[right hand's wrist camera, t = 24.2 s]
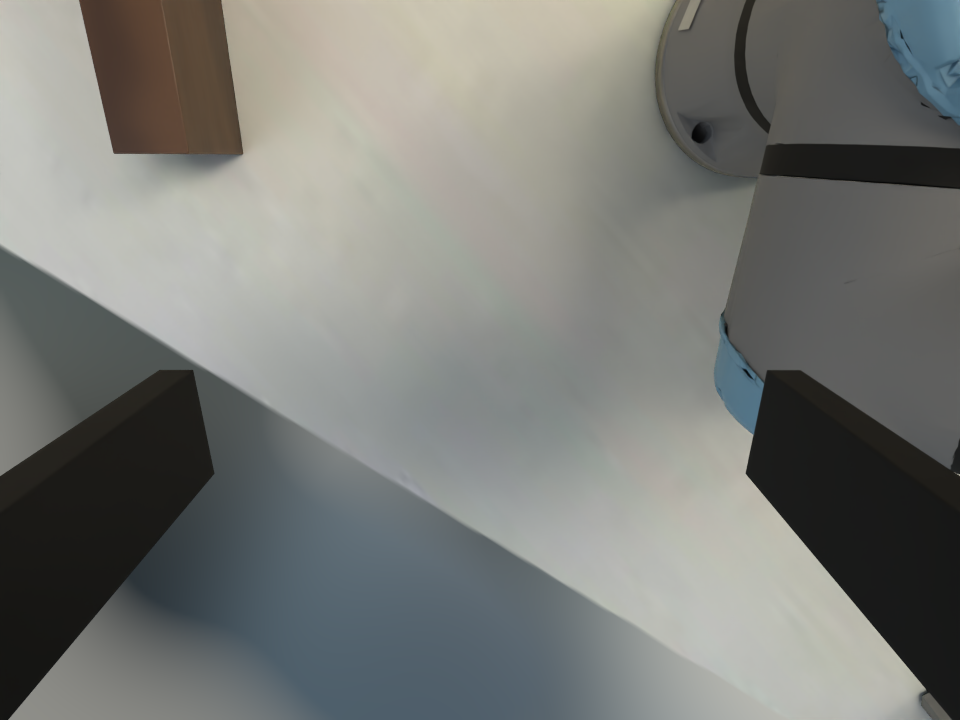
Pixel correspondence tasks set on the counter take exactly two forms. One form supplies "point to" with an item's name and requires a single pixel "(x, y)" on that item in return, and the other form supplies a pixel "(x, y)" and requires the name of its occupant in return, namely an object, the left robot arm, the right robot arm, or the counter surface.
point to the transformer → (933, 708)
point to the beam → (164, 75)
